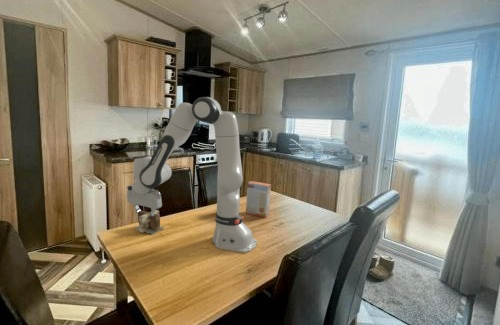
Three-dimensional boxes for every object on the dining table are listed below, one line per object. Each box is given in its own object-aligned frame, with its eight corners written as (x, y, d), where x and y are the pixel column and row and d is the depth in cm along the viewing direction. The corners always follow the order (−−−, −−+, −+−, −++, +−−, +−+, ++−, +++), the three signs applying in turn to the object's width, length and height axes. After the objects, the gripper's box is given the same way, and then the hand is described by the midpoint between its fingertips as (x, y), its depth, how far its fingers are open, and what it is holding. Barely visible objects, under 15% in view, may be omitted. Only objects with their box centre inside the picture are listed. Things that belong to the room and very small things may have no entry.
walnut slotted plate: (163, 228, 144) (163, 213, 142) (152, 234, 137) (152, 218, 135) (146, 224, 149) (146, 208, 147) (135, 229, 141) (134, 213, 140)
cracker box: (269, 215, 173) (271, 183, 169) (265, 218, 167) (268, 186, 163) (249, 210, 178) (251, 180, 175) (245, 213, 173) (247, 182, 169)
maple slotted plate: (155, 223, 148) (155, 209, 147) (159, 224, 147) (159, 210, 146) (138, 231, 137) (138, 216, 136) (142, 232, 136) (142, 217, 135)
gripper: (164, 189, 134) (165, 215, 136) (134, 183, 142) (135, 208, 144) (155, 192, 128) (156, 219, 130) (124, 186, 136) (125, 212, 139)
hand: (144, 213), depth 137 cm, fingers open, 8 cm apart
